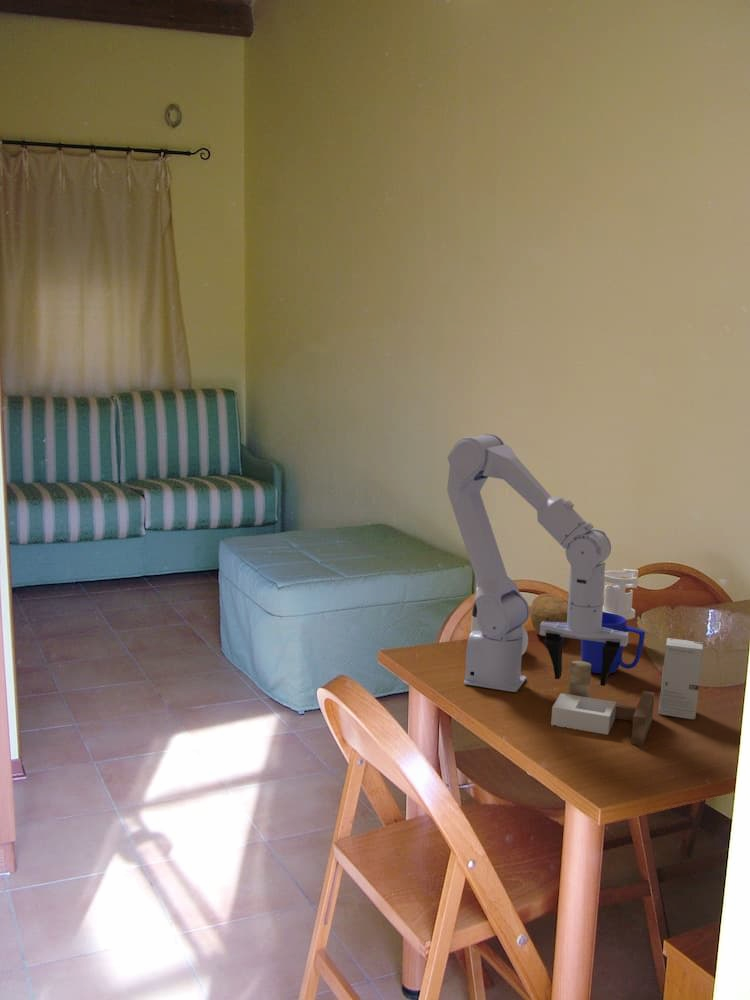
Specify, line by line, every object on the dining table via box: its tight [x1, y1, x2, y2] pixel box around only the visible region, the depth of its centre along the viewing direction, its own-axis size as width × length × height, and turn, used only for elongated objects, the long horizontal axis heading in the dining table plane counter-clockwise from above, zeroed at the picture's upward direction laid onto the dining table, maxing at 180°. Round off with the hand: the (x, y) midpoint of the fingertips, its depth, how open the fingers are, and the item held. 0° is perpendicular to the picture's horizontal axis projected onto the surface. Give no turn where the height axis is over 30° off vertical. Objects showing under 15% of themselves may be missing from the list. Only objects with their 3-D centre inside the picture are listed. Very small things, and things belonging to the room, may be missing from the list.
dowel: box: [568, 660, 592, 698], centre depth 177 cm, size 3×3×6 cm
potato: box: [529, 593, 568, 639], centre depth 213 cm, size 10×14×8 cm
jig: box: [615, 690, 656, 747], centre depth 167 cm, size 15×12×4 cm
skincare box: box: [658, 637, 704, 720], centre depth 173 cm, size 6×4×12 cm
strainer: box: [602, 568, 639, 621], centre depth 211 cm, size 7×7×15 cm
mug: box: [580, 612, 646, 675], centre depth 192 cm, size 8×12×10 cm
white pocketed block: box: [550, 692, 617, 735], centre depth 168 cm, size 9×7×3 cm
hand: (580, 680), depth 177 cm, fingers open, 7 cm apart
